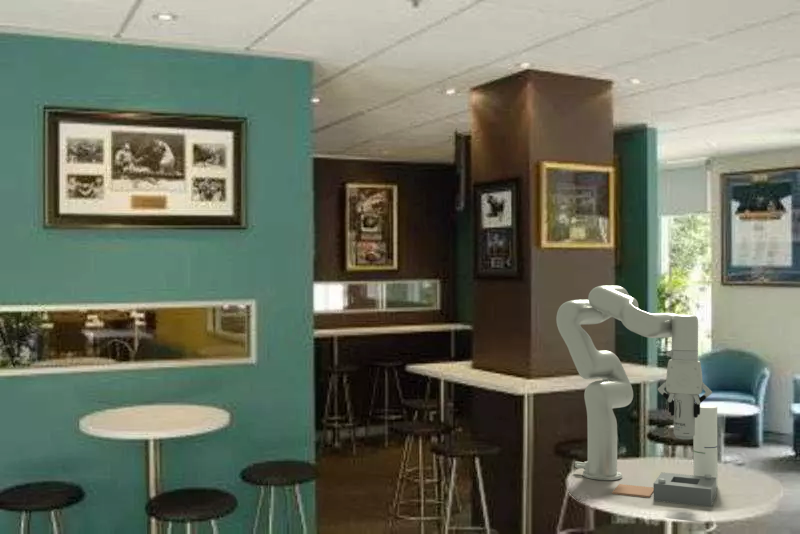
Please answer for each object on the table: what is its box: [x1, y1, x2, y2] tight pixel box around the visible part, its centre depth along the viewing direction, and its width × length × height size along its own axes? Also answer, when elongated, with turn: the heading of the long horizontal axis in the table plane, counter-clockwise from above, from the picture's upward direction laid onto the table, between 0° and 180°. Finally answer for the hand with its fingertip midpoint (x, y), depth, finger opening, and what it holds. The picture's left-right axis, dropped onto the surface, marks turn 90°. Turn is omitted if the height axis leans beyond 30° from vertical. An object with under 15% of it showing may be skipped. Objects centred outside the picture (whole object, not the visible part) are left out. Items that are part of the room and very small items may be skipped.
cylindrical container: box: [692, 404, 719, 488], centre depth 265 cm, size 7×7×25 cm
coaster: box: [611, 483, 654, 499], centre depth 257 cm, size 11×11×1 cm
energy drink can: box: [673, 393, 696, 440], centre depth 251 cm, size 6×6×15 cm
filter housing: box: [653, 472, 717, 508], centre depth 251 cm, size 16×16×6 cm
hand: (684, 415), depth 251 cm, fingers closed on energy drink can, 6 cm apart
